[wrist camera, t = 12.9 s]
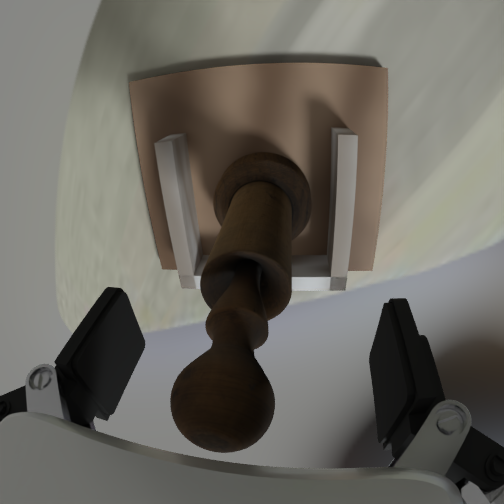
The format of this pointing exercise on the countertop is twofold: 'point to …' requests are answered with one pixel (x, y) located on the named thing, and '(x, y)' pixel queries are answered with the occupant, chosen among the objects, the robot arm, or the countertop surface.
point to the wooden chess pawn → (242, 301)
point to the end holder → (273, 141)
